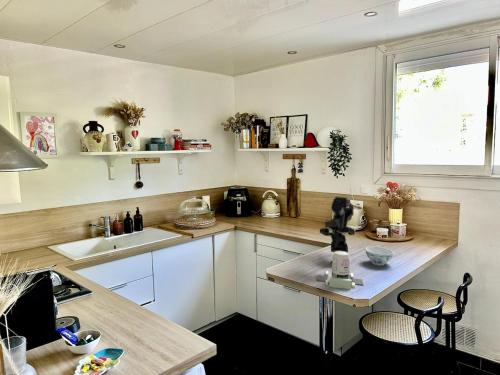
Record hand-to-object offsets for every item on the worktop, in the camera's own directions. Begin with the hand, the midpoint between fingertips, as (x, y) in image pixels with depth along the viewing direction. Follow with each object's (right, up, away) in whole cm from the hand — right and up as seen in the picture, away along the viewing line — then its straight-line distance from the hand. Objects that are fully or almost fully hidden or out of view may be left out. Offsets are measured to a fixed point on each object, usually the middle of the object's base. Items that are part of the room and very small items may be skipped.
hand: (334, 246), depth 194 cm
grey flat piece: (0, -15, -11) cm, 18 cm away
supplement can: (0, -16, -13) cm, 20 cm away
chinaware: (+29, -12, +16) cm, 35 cm away
